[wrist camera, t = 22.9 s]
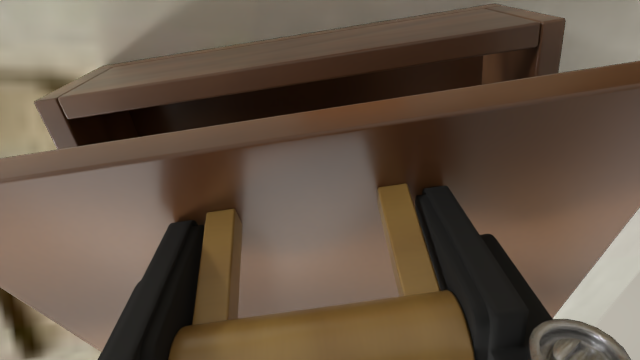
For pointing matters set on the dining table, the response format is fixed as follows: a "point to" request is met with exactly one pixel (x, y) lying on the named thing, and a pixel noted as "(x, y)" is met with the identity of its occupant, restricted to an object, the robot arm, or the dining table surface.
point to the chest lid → (330, 216)
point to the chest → (303, 73)
